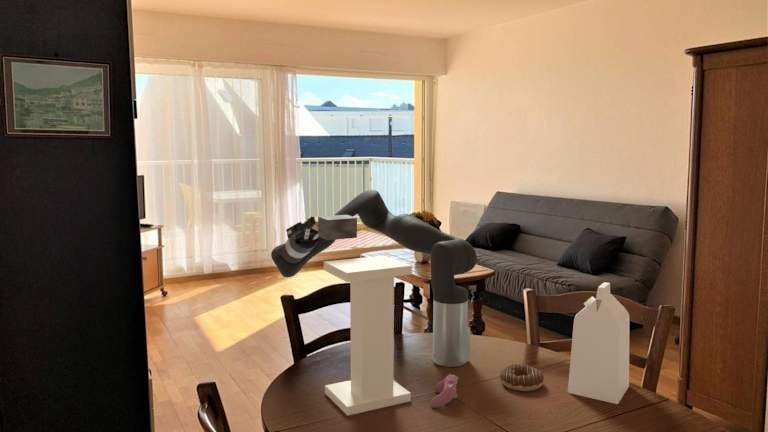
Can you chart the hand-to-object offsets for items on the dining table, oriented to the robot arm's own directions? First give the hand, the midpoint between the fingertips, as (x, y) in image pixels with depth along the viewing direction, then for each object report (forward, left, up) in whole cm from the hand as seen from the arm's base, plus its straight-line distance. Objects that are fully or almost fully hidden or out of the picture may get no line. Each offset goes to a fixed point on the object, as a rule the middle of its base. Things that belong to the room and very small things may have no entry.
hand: (319, 219), depth 163 cm
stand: (0, +29, -39) cm, 48 cm away
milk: (-52, +51, -39) cm, 82 cm away
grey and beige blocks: (0, +5, -3) cm, 6 cm away
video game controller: (-15, +39, -39) cm, 57 cm away
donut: (-37, +40, -39) cm, 67 cm away
